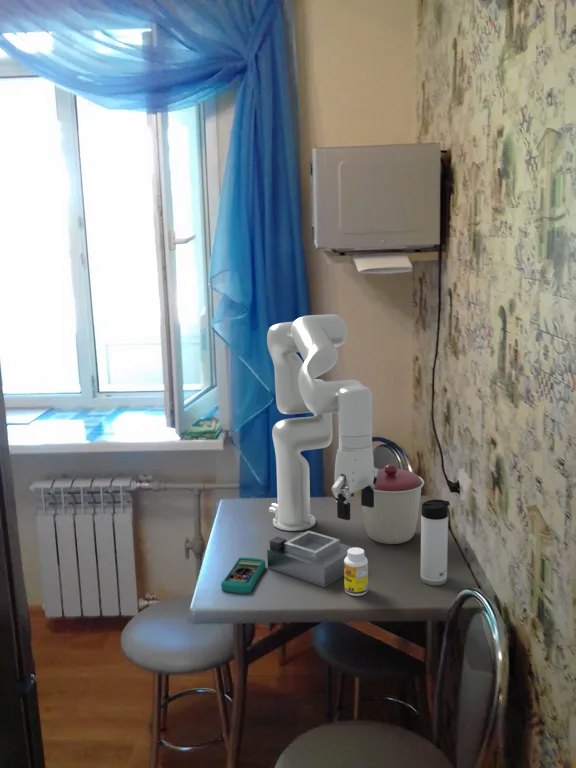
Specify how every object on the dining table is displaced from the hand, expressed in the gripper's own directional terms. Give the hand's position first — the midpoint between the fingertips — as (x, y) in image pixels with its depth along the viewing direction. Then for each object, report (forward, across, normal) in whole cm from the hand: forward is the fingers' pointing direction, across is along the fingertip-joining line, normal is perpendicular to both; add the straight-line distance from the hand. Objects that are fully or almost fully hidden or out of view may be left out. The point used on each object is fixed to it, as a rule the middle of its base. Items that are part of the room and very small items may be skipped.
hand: (356, 512), depth 163 cm
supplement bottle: (+20, 0, 0) cm, 20 cm away
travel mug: (+20, -16, +12) cm, 28 cm away
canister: (+20, -32, -10) cm, 39 cm away
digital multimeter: (+20, +11, -26) cm, 35 cm away
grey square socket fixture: (+20, -4, -16) cm, 26 cm away
